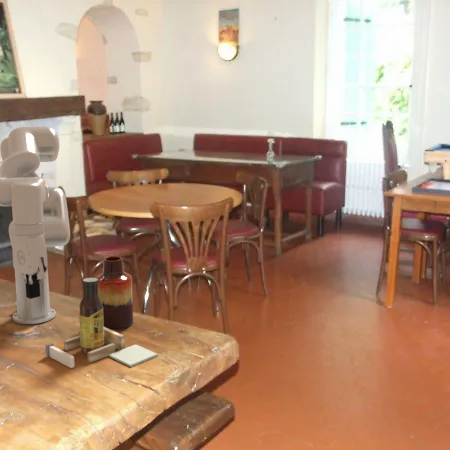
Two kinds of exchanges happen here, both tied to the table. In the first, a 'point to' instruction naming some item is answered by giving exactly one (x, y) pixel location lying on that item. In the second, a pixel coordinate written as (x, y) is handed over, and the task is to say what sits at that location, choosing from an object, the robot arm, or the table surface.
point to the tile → (133, 355)
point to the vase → (115, 294)
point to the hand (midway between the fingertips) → (33, 296)
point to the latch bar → (59, 355)
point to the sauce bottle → (91, 317)
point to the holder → (110, 338)
